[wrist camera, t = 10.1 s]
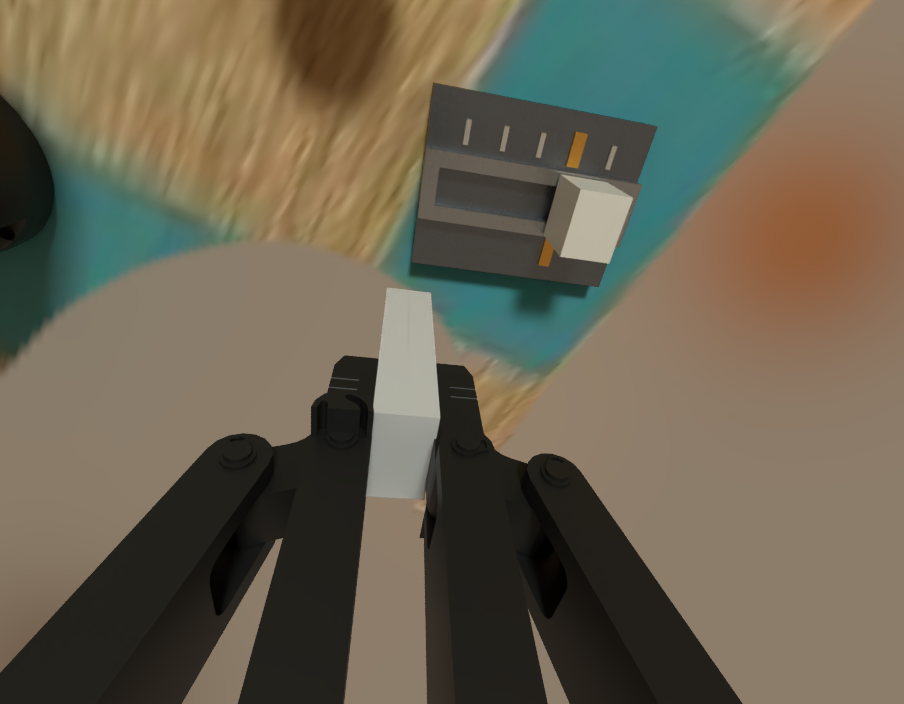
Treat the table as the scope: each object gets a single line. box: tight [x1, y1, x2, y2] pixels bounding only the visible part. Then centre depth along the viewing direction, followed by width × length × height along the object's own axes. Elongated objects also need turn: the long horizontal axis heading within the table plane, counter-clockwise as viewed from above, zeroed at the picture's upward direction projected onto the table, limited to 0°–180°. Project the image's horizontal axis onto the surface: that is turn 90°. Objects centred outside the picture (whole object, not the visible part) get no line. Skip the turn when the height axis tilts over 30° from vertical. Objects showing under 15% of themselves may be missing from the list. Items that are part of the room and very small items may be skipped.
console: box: [412, 83, 657, 287], centre depth 38 cm, size 18×14×3 cm
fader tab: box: [544, 174, 633, 264], centre depth 36 cm, size 4×5×6 cm
